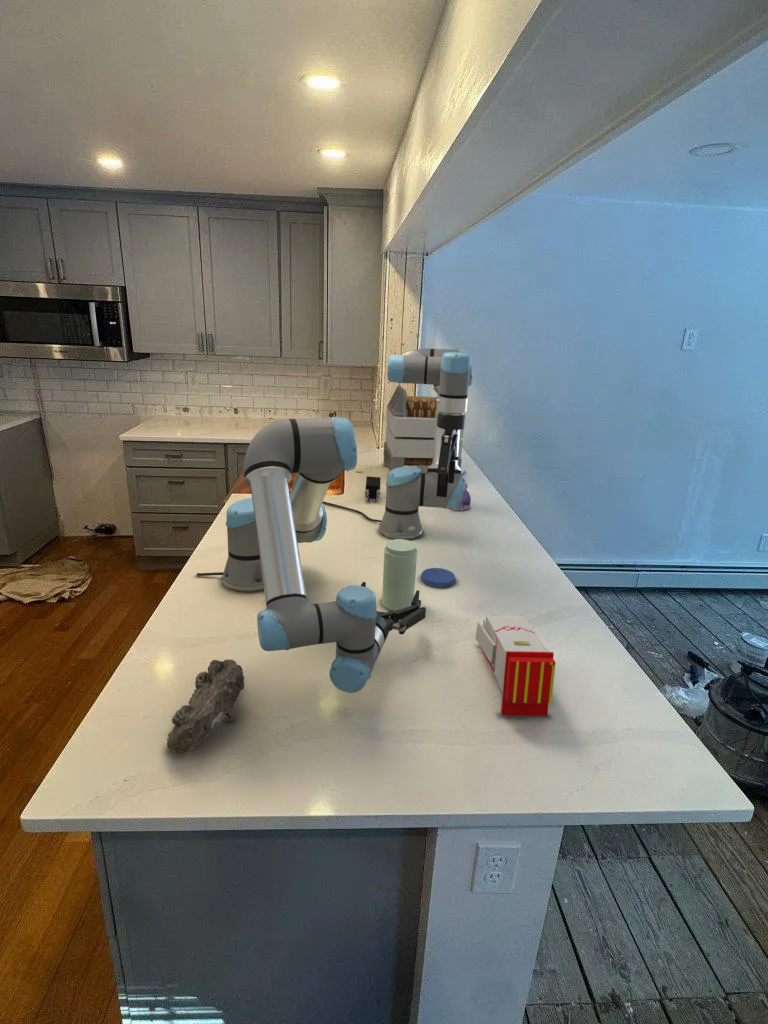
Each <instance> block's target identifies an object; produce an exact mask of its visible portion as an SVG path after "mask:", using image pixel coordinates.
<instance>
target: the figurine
mask: <svg viewBox="0 0 768 1024" xmlns="http://www.w3.org/2000/svg"><path fill="white" fill-rule="evenodd" d="M461 475H464V476H465V477H466V475H467V471H466V470H464V471H462V472H461ZM468 487H469V485H468V482H467V480H466V479H465V483H464V489H463V494H462V498H461V502H460V505H459V506H458V507H457V508H451V509H452V510H453V511H466V510H468V509H470V507H471V502H472V498H471V494H470V492H469V491H468V490H467V489H468Z"/></svg>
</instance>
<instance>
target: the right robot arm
mask: <svg viewBox="0 0 768 1024" xmlns="http://www.w3.org/2000/svg"><path fill="white" fill-rule="evenodd" d="M386 372H387V374H386V375H387V376H386V377H387V381H388V382H390V383H394V384H395V383H397V384H413V385H414V384H415V385H416V384H417V385H432V386H433V390H434V392H435V393H436V397H437V401H436V402H437V407H436V421H435V435H434V449H433V463H432V464H431V465H430V466H429V465H428V466H427V472H422V469H421V468H420V467H419V466H418V467H417V466H404V467H399V468H395V469H393V470H391V471H390V470H389V471H388V473H387V475H386V482H385V487H386V488H385V489H386V490H385V504H384V505H385V507H384V508H385V509H384V513H383V515H382V519H375V518H370V517H369V516H367V515H366V514H365V513H364V512H362V511H360V510H358V509H354V508H350V507H346V506H344V505H343V506H342V505H339V504H336V503H332V502H327V501H325V500H323V502H322V504H323V505H328V506H332V507H335V508H338V509H339V508H340V509H343V510H346V511H351V512H355V513H357V514H359V515H362V516H363V517H364V518H365V519H367V520H368V521H370V522H375V523H379V526H378V533H379V534H380V535H381V536H382V537H385V538H387V539H389V540H394V539H404V540H409V541H412V540H415V539H418V538H420V537H421V536H422V535H423V525H422V524H421V518H420V515H419V507H424V508H435V509H445V510H447V509H452V508H457V507H458V506H459V505H460V502H461V498H462V494H463V489H464V483H465V480H466V476H464V475H462V468H461V469H460V468H459V466H458V465H457V464H458V450H459V436H460V430H461V429H465V427H466V418H467V415H466V414H465V413H467V410H468V409H467V408H468V400H469V399H468V398H469V397H468V392H469V387H471V386H472V385H473V360H472V355H471V353H470V352H469V351H468V350H464V349H463V350H462V349H458V348H456V349H450V348H449V349H447V348H429V347H427V348H424V347H423V348H418V349H413V350H410V351H407V352H405V353H403V354H391V355H389V357H388V361H387V371H386ZM289 493H291V490H289Z"/></svg>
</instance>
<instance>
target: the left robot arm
mask: <svg viewBox="0 0 768 1024" xmlns="http://www.w3.org/2000/svg"><path fill="white" fill-rule="evenodd" d="M357 446H358V445H357V437H356V432H355V429H354V426H353V424H352V422H351V421H350V419H348V418H347V417H336V416H332V417H310V418H278V419H275V420H273V421H270V422H269V423H267V424H265V425H264V426H262V427H261V428H260V429H259V431H258V432H256V434H255V435H254V436H253V438H252V440H251V441H250V443H249V445H248V447H247V449H246V452H245V456H244V460H243V477H244V478H243V479H244V484H245V486H246V487H248V489H250V492H251V497H248V498H244V499H241V500H238V501H235V502H233V503H232V504H231V505H230V506H228V508H227V510H226V521H225V526H226V533H227V535H226V536H227V554H228V555H227V560H226V563H225V567H224V570H223V571H222V572H219V571H218V572H217V571H216V572H197V573H196V576H197V577H207V576H222V583H223V585H224V586H225V587H226V588H228V589H229V590H232V591H236V592H242V593H253V592H260V591H263V592H264V599H265V607H266V609H264V610H260V611H259V612H258V613H257V617H256V624H257V635H258V642H259V645H260V648H261V649H262V650H263V651H265V652H276V651H289V650H293V649H298V648H303V647H310V646H317V645H324V644H330V643H335V658H334V659H333V660H332V662H331V666H330V668H329V679H330V682H331V683H332V685H333V686H334V687H335V688H337V689H338V690H339V691H341V692H344V693H350V694H353V693H357V692H360V691H362V690H363V689H364V687H366V684H367V683H368V681H369V680H370V678H371V677H372V672H373V670H374V668H375V666H376V663H377V660H378V659H379V656H380V654H381V651H382V649H383V647H384V645H385V643H386V640H387V638H388V637H389V633H390V632H391V631H393V630H395V631H398V634H399V635H404V634H406V631H407V630H409V629H410V628H412V627H413V626H415V625H417V624H418V623H420V622H422V621H423V620H425V619H426V613H427V607H425V606H422V600H421V599H420V593H421V592H420V591H421V590H418V589H416V591H415V592H414V598H413V600H412V603H411V606H409V607H406V608H403V609H400V610H397V611H394V610H389V611H378V610H377V598H376V597H377V596H376V594H375V592H374V591H373V590H372V589H370V588H368V587H366V586H367V585H366V584H367V582H366V581H362V582H361V584H360V585H357V584H356V585H347V586H345V587H342V588H340V590H339V591H337V594H336V597H335V600H334V601H333V600H331V601H325V602H319V603H317V602H316V603H308V601H307V592H306V587H305V581H304V574H303V568H302V562H301V556H300V549H299V544H303V543H308V544H310V543H314V542H318V541H321V540H322V539H323V538H324V536H325V534H326V531H327V524H328V517H327V516H328V515H327V510H326V507H325V504H324V503H322V502H323V501H325V500H324V499H325V497H326V495H327V492H328V490H329V487H330V485H331V483H333V482H335V481H336V480H337V479H339V477H340V476H341V474H342V473H343V471H345V472H349V471H353V470H355V469H356V467H357V464H358V447H357ZM292 474H295V476H294V479H293V475H292ZM292 479H293V482H292V486H291V490H290V487H289V486H290V485H289V483H290V482H291V481H292ZM289 491H290V492H291V493H289Z"/></svg>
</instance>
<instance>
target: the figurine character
mask: <svg viewBox="0 0 768 1024" xmlns="http://www.w3.org/2000/svg"><path fill="white" fill-rule="evenodd" d="M364 490H365V491H364V498H365V499H367V502H370V501H371V500H374V502H375V503H376V502H377V501H378V500H377V499H380V495H381V476H368V475H367V476H366V479H365V489H364Z"/></svg>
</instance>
